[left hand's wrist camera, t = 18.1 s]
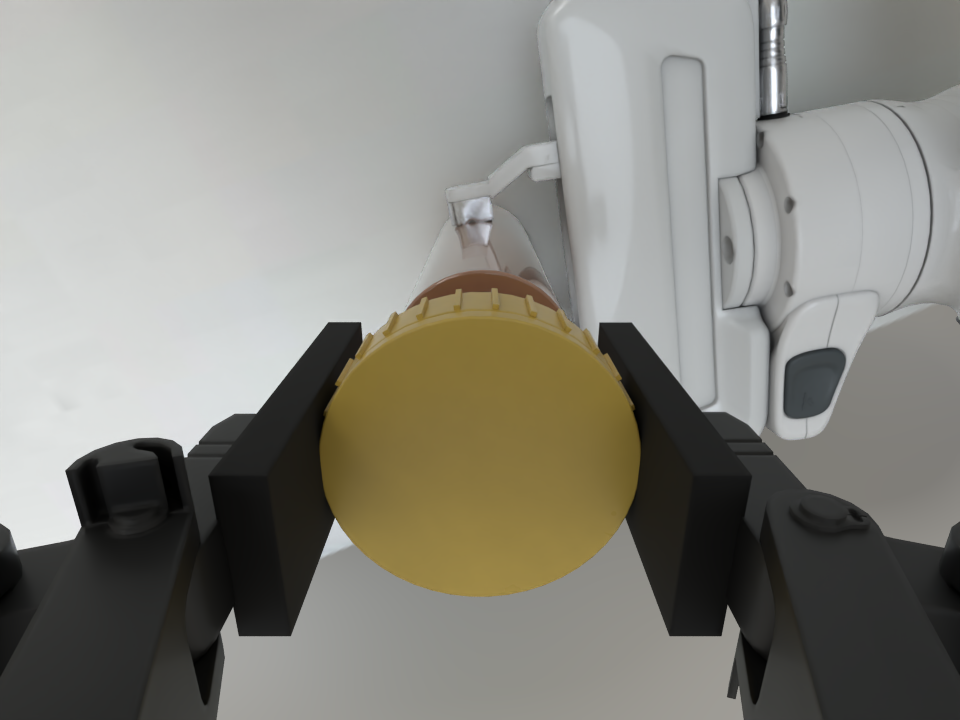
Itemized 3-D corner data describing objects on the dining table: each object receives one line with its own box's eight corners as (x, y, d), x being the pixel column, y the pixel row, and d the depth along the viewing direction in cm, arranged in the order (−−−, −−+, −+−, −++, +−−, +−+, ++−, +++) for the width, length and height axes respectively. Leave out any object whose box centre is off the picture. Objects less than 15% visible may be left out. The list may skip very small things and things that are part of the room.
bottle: (434, 203, 31) (376, 283, 14) (530, 202, 31) (590, 281, 14) (437, 296, 33) (388, 469, 16) (528, 296, 33) (578, 468, 16)
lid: (581, 565, 13) (595, 621, 11) (320, 521, 13) (299, 573, 11) (662, 320, 11) (691, 350, 9) (354, 258, 11) (333, 279, 9)
